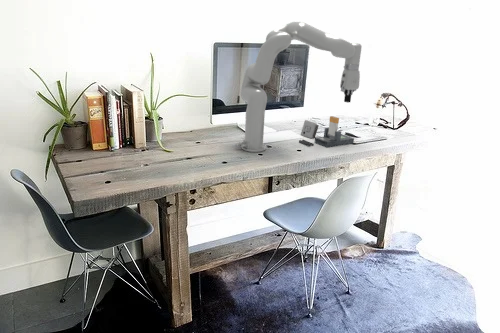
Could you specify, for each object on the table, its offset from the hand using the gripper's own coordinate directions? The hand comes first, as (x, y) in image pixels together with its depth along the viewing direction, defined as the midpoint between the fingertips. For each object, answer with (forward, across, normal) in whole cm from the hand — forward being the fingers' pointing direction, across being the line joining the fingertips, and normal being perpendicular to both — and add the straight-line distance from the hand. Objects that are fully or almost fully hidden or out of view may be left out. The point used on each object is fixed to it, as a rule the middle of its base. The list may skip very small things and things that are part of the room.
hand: (347, 101), depth 210 cm
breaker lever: (+18, -8, 0) cm, 20 cm away
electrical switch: (+23, -10, +17) cm, 30 cm away
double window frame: (+23, -6, 0) cm, 24 cm away
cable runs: (+23, -22, +5) cm, 32 cm away
